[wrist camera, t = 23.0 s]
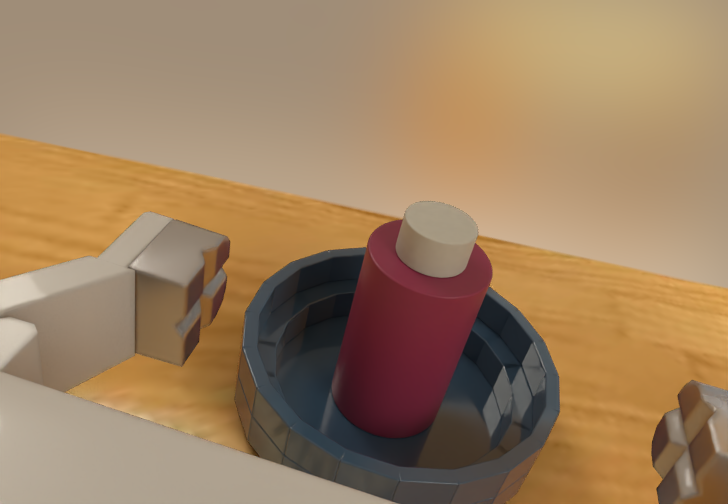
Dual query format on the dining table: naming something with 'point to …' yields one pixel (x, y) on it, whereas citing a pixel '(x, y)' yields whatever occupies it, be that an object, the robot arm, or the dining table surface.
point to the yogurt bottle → (410, 319)
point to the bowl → (380, 454)
